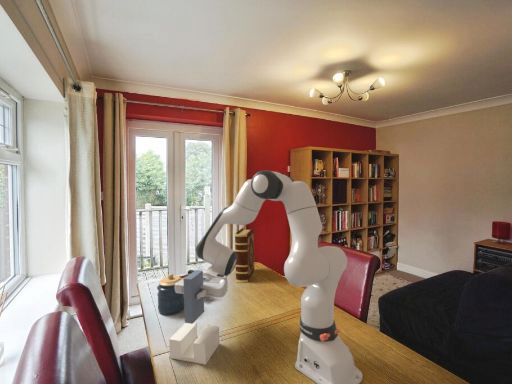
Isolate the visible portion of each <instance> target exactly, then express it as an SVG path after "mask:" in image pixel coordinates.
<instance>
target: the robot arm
mask: <svg viewBox="0 0 512 384" xmlns="http://www.w3.org/2000/svg"><path fill="white" fill-rule="evenodd" d="M266 200H270V201H272V202H279V201H280V202H282V203H283V205H284V209H285V212H286V216H287V220H288V225H289V229H290V234H291V246H290V247H291V248H290V251H289V254H288V256H287V259H286V260H285V262H284V266H283V272H284V277H285V278H286V281H288V283H289V284H290V285H292V286H293V287H295V288H297V287H298V288H301V287H303V288H304V287H306V288H305V289H304V291H303V292H302V294H301V297H300V317H299V331H300V335H299V338H298V347H297V354H296V361H295V365H294V368H295V369H296V370H297V371H298V372H300V373H301V374H303V375H304V376H305V377H307V378H308V379H310V380H312V381H313V382H314V383H316V384H360V383H361V382H362V380H363V373H362V371H361V370H360V369H359V368H358V367H357V366H356V365H355V360H354V356H353V354H352V353H351V350H350V347H349V345H346V344H345V343H344V341H343V340H342V339H341V337H340V336H339V333H341V331H340V330H341V328H337V325H336V321H335V319H334V317H335V315H334V312H335V309H334V308H335V297H336V293H337V292H336V291H337V288H338V285H339V282H340V279H341V277H342V275H343V273H345V272H344V271H345V270H346V269H347V266H348V257H347V256H346V255H347V254H346V253H345V251H343V249H341V247H338V246H333V245H331V246H330V245H325V246H320V247H318V245H319V244H318V243H319V240H318V239H319V236H320V234H321V233H322V231H323V224H322V221H321V220H322V219H321V217H320V213H319V211H318V206H317V204H316V201H315V197H314V195H313V193H312V190H311V189H310V187H309V185H308V184H307V183H306V182H304V181H303V180H302V181H301V180H294V179H293V178H292V177H291V176H289V175H287V174H282V173H280V172H278V171H272V170H268V169H266V170H260V171H257V172H256V173H255V174H254V175H253V176H252V178H251V179H246V181H244V183H243V184H242V186H241V188H240V189H239V191H238V193H237V195H236V197H235V199H234V201H233V202H232V204H231V205H230V206H227V207H224V208H223V209H222V210H221V211H220V212H218V214H217V216H216V217H215V218H214V221H213V222H212V223H211V225H210V226H209V228H208V229H207V231H206V232H205V234H204V236H203V237H202V238H201V239H200V241H199V242H198V243H197V245H196V248H195V252H196V256H197V258H198V259H200V260H203V261H204V262H206V263H209V264H210V265H211V266H209V267H208V268H207V269H205V270H203V285H202V286H201V289H202V291H201V292H199V293H196V294H195V299H200V298H201V297H204V298H205V297H208V298H209V297H210V298H219V299H221V298H223V297H225V296H226V295H227V292H228V289H229V288H228V287H229V286H228V284H229V283H228V276H229V275H231V274H232V273H233V272H234V271H235V270H234V269H236V263H237V254H236V252H235V249H234V250H233V249H232V248H231V247H228V246H227V245H225V244H223V243H222V242H219V241H217V239H216V237H217V235H218V234H219V233H220V231H221V230H222V229H223V226H224V225H227V224H228V225H236V226H244V225H245V226H246V225H250V224H251V223H253V222H254V221H255V220H256V218H257V216H258V214H259V212H260V210H261V208H262V206H263V204H264V202H265V201H266ZM175 292H176V293H180V294H184V280H181V281H179V282H177V283H176V284H175Z"/></svg>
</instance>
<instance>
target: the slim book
mask: <svg viewBox="0 0 512 384" xmlns="http://www.w3.org/2000/svg"><path fill="white" fill-rule="evenodd" d="M203 272H204V270H199V269H198V270H197V269H195V270H194V272H192V273H191V274H190V275H188V276H187V277H185V278H184V279H183V280H184V324H185V323H190V324H193V323H196V321H197V320H198V319H199V318H200V317H201V315H203V313H205V300H204V299H205V297H201V298H200V299H195V294H196V293H199V292H201V291H202V289H201V286H202V285H203Z"/></svg>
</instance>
